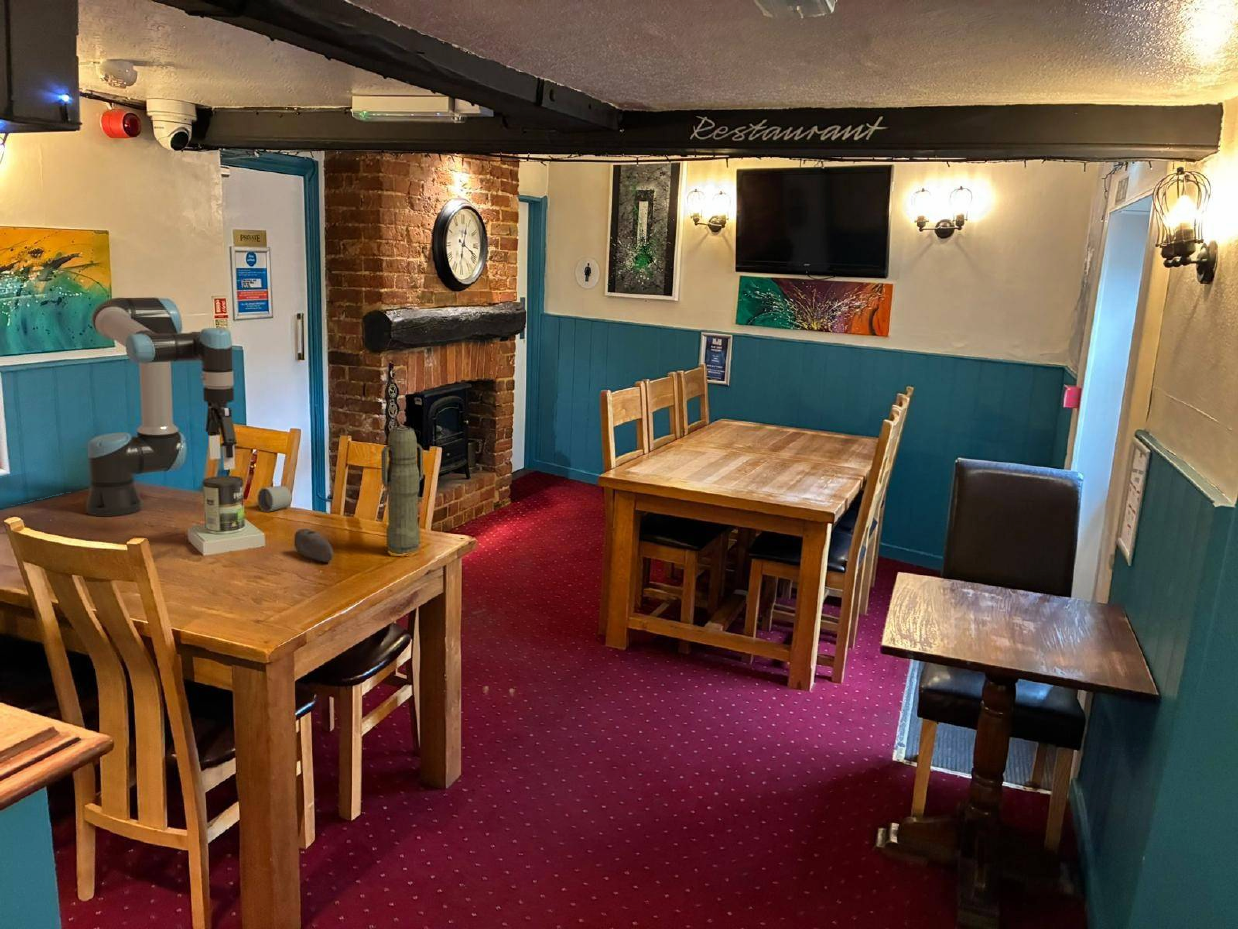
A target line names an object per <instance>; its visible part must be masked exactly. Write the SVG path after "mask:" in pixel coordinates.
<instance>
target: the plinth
mask: <svg viewBox="0 0 1238 929" xmlns="http://www.w3.org/2000/svg"><path fill="white" fill-rule="evenodd" d="M244 520H245V529H244V530H242V531H239V532H236V533H230V534H212V533H208V532H206V531H205V529H206V528H205V524H199V525H193V526H192V525H191V526H189V527H187V539H188V541H189V542H190V543H191V545H193V547H195V549H197V551H199V552H200V553H201V555H203V556H209V555H217V554H223V553H231V552H235V551H243V550H249V548H250V549H256V548H262V546H263V547H266V535H265V533H264V532H262V530H260V529H259V528H258V527H257V526H255V525H254V524H252V523H251V522H250V521H249V520H248V519H246V518H244ZM230 551H231V552H230Z"/></svg>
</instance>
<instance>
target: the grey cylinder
mask: <svg viewBox="0 0 1238 929" xmlns="http://www.w3.org/2000/svg"><path fill="white" fill-rule="evenodd" d="M292 503H293V493H292V492H291V490H290V489H289V487H287V486H285V485H276V486H268V487H262V488H260V490H259V491H258V493H257V505H258V507H259V508H260V509H261V511H264V513H265V512H266V513H270V512H275V511H278V510H283V509H285V508H288V507H289V506H291V504H292Z"/></svg>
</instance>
